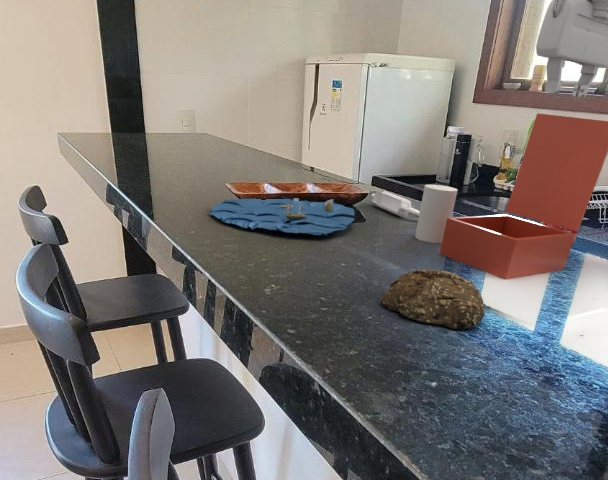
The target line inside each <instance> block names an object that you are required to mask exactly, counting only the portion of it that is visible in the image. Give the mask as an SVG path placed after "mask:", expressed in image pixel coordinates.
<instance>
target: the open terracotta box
mask: <svg viewBox="0 0 608 480" xmlns="http://www.w3.org/2000/svg"><path fill="white" fill-rule="evenodd" d="M575 235H576V234H574V233H570V232H567V231H563V230H560V229H556V228H552V227H549V226H545V225H542V224H540V223H538V222H535V221H531V220H527V219H524V218H520V217H516V216H513V215H510V214H492V215H491V214H490V215H475V216H473V215H472V216H458V217H452V218H447V221H446V226H445V230H444V235H443V240H442V243H440V244H441V245H440V249H439V255H441V256H444V257H446V258H449V259H452V260H454V261H457V262H459V263H462V264H465V265H466V266H469V267H472V268H473V269H474V268H475V269H477V270H480V271H482V272H485V273H488V274H490V275H492V276H495V277H498V278H501V279H503V280H511V279H517V278H524V277H530V276H537V275H542V274H549V273H554V272H559V271H560V272H561V271H564V270H565V267H566V264H567V262H568V258H569V255H570V252H571V249H572V248H573V246H572V244H573V241H574V238H575ZM574 242H575V241H574ZM573 245H574V244H573ZM571 247H572V248H571Z"/></svg>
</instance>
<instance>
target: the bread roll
mask: <svg viewBox="0 0 608 480" xmlns="http://www.w3.org/2000/svg"><path fill="white" fill-rule="evenodd" d="M380 303H381V304H382V306H383V307H385V308H387V309H388V310H389V311H392V312H395V313H399V314H400V315H402V316H404V317H405V318H407V319H410V320H413V321H417V322H420V323H423V324H424V323H425V324H430V325H435V326H443V327H446V328H449V329H451V330H469V329H473V328H475V327H476V326H478V325H479V324H480V322H481V321H483V318H484V317H485V315H486V305H485V303H484V298H483V296H482V294H481V292H480V290H479V289H478V288H477V285H476V284H474V283H473V281H471V280H468V279H466V278H464V277H463V276H461V275H458V274H456V273H453V272H450V271H446V270H436V269H425V268H424V269H415V270H412V271H409V272H405V273H403V274H402V275H400V276H399V277H398V278H396V279H395V280H393V281H392V282H391V283H390V284H389V286H388V288H387V290H386V292H384V293H383V295H381V297H380Z"/></svg>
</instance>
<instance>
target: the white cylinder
mask: <svg viewBox="0 0 608 480" xmlns="http://www.w3.org/2000/svg"><path fill="white" fill-rule="evenodd" d="M458 190H459V189H457V188H455V187H451V186H448V185H442V184H441V185H440V184H425V185H424V188H423V193H422V197H421V203H420V209H419V211H420V213H419V216H418V220H417V225H416V230H415V233H414V238H415V239H417V240H419V241H422V242H425V243H430V244H431V243H433V244H442V240H443V235H444V230H445V226H446V221H447V218H453V213H454V208H455V204H456V200H457V199H456V198H457V195H458Z"/></svg>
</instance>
